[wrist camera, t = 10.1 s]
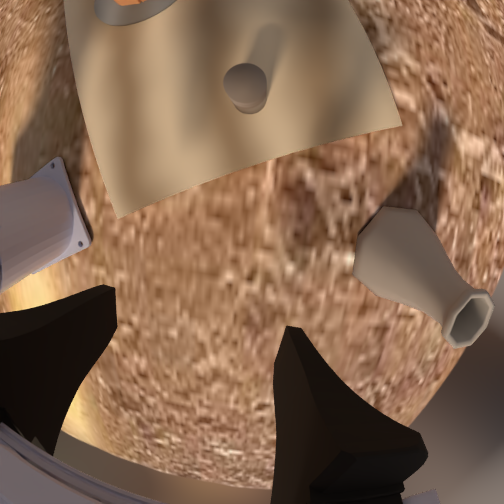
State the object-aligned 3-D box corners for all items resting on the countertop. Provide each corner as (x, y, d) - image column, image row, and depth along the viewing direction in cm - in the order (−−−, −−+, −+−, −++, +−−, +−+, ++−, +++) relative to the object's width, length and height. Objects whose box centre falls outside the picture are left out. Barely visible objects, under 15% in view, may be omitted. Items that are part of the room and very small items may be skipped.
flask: (376, 188, 18) (464, 222, 8) (445, 227, 18) (532, 275, 9) (335, 279, 20) (380, 371, 11) (407, 305, 21) (467, 384, 11)
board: (127, 214, 19) (86, 235, 14) (72, 3, 13) (38, -16, 7) (393, 127, 16) (434, 120, 11) (281, -77, 10) (283, -113, 4)
